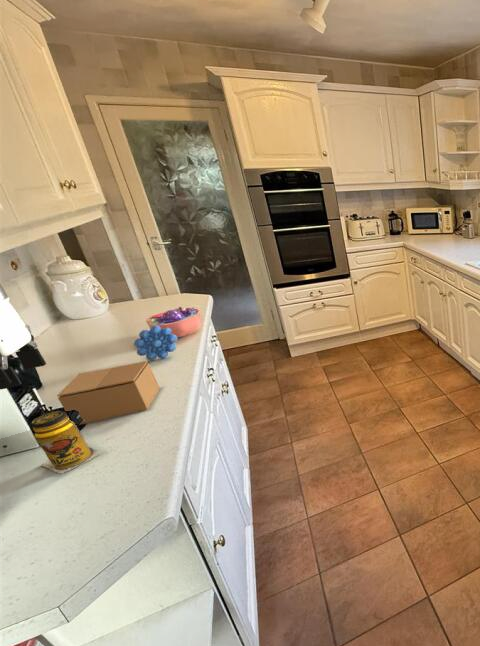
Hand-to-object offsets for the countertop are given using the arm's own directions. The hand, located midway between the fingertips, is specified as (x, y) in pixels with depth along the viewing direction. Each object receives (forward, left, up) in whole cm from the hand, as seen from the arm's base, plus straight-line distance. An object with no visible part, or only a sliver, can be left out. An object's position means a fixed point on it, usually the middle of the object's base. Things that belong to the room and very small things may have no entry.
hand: (24, 376), depth 81 cm
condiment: (0, 0, -22) cm, 22 cm away
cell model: (+6, +79, -22) cm, 82 cm away
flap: (-2, +24, -13) cm, 27 cm away
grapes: (+5, +57, -22) cm, 61 cm away
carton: (+2, +24, -22) cm, 33 cm away
